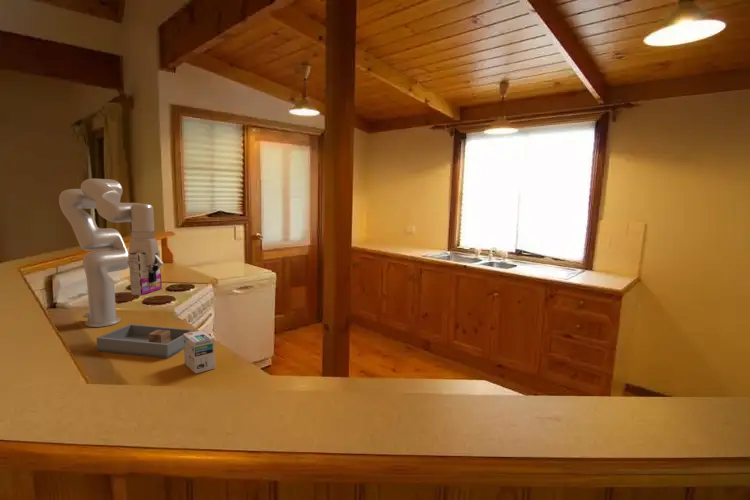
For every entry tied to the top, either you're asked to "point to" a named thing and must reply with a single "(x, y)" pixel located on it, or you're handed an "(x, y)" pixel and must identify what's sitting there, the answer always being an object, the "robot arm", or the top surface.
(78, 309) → the top surface
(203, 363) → the light bulb box
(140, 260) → the candy bar box
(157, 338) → the walnut cube
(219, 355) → the top surface
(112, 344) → the tote
